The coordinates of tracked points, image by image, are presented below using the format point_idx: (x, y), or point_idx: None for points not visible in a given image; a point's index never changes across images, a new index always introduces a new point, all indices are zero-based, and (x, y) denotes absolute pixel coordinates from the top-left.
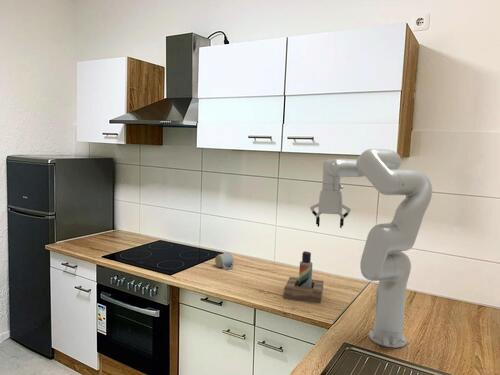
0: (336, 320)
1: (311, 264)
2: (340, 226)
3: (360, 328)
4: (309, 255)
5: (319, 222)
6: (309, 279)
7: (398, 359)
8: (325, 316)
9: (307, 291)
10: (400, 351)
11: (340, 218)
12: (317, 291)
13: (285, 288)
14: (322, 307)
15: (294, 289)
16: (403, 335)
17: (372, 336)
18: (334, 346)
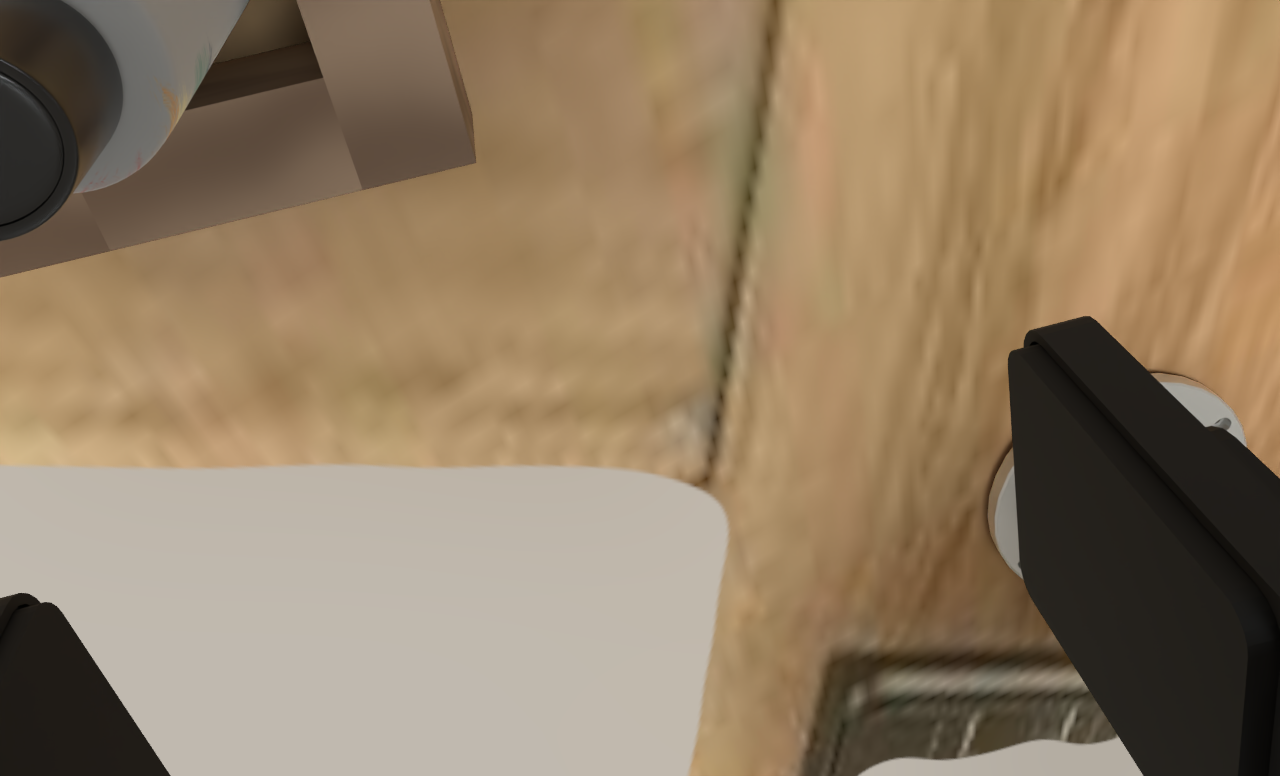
0: (724, 402)
1: (177, 98)
2: (1064, 617)
3: (925, 429)
4: (82, 177)
5: (2, 715)
6: (217, 52)
7: None
8: (616, 382)
9: (301, 200)
10: None
11: (1256, 692)
12: (423, 160)
13: (11, 270)
14: (526, 203)
15: (131, 243)
16: (1237, 428)
17: (1017, 555)
18: (782, 723)
